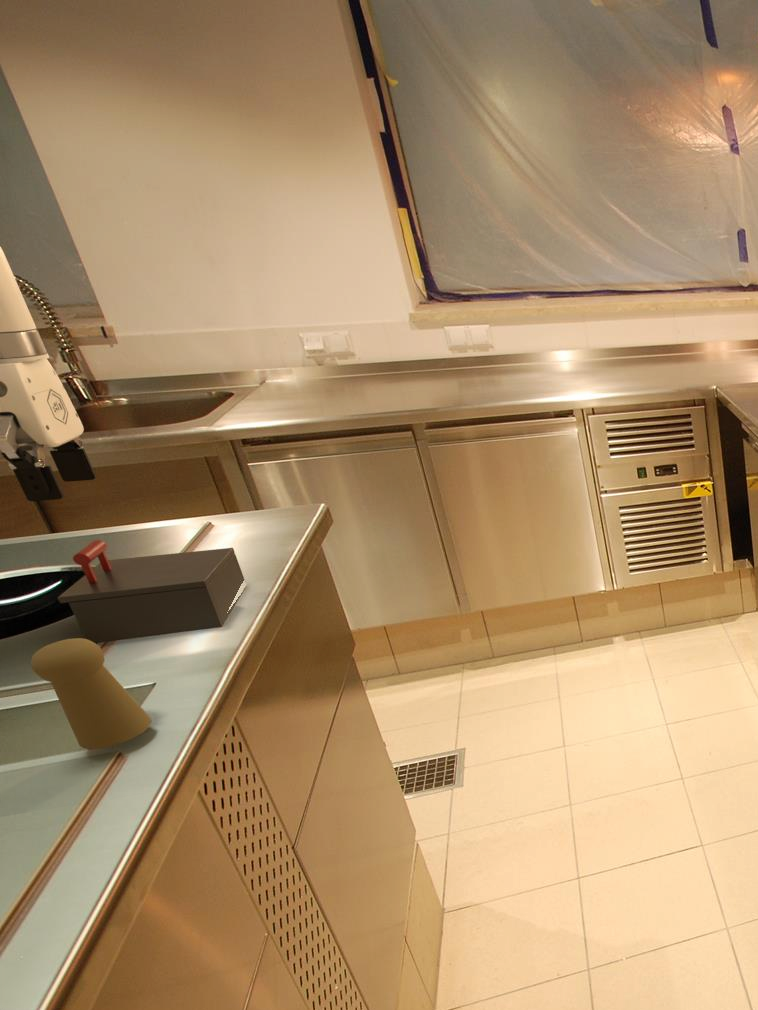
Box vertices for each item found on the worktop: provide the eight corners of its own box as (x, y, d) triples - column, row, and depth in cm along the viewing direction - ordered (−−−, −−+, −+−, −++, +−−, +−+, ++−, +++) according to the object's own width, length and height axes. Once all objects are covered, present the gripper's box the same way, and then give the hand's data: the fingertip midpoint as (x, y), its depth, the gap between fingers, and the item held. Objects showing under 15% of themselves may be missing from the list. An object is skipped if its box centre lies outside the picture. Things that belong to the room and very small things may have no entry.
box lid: (59, 603, 105) (42, 566, 103) (104, 565, 117) (90, 532, 115) (206, 586, 111) (192, 551, 109) (235, 552, 123) (223, 520, 121)
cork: (66, 753, 88) (2, 666, 82) (98, 720, 92) (40, 635, 87) (134, 743, 89) (77, 656, 83) (162, 710, 94) (110, 626, 88)
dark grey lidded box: (91, 651, 108) (68, 602, 105) (132, 610, 120) (112, 565, 117) (224, 634, 114) (206, 587, 111) (250, 596, 126) (235, 552, 123)
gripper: (6, 355, 93) (74, 504, 100) (72, 338, 107) (128, 471, 114) (-88, 358, 90) (-11, 511, 97) (-7, 340, 104) (55, 476, 111)
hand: (64, 489), depth 106 cm, fingers open, 9 cm apart
